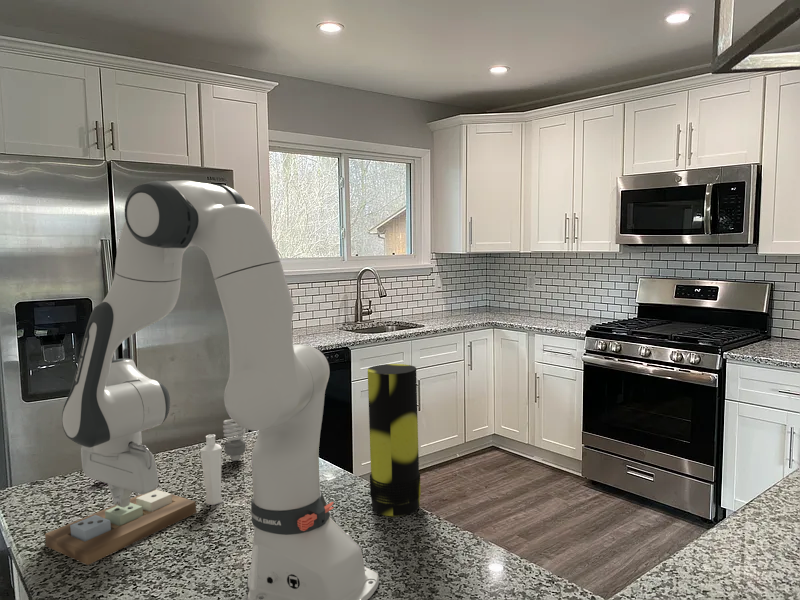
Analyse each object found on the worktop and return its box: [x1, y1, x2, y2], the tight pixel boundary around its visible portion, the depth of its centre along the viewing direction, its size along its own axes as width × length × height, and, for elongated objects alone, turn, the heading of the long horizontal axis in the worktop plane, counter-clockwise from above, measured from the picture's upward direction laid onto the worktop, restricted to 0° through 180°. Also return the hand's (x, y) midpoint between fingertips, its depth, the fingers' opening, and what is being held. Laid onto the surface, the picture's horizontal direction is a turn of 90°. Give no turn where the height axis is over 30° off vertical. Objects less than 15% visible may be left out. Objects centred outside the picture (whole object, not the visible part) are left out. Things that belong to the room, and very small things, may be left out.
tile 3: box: [70, 515, 111, 542], centre depth 115 cm, size 5×5×3 cm
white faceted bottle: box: [199, 434, 224, 506], centre depth 133 cm, size 5×4×15 cm
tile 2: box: [105, 503, 143, 526], centre depth 121 cm, size 5×5×3 cm
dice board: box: [44, 488, 197, 566], centre depth 121 cm, size 14×24×2 cm, turn 148°
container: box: [367, 363, 422, 517], centre depth 127 cm, size 11×11×30 cm
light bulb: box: [222, 419, 246, 462], centre depth 158 cm, size 6×6×12 cm
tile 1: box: [136, 489, 173, 512], centre depth 127 cm, size 5×5×3 cm
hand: (121, 505), depth 121 cm, fingers closed
